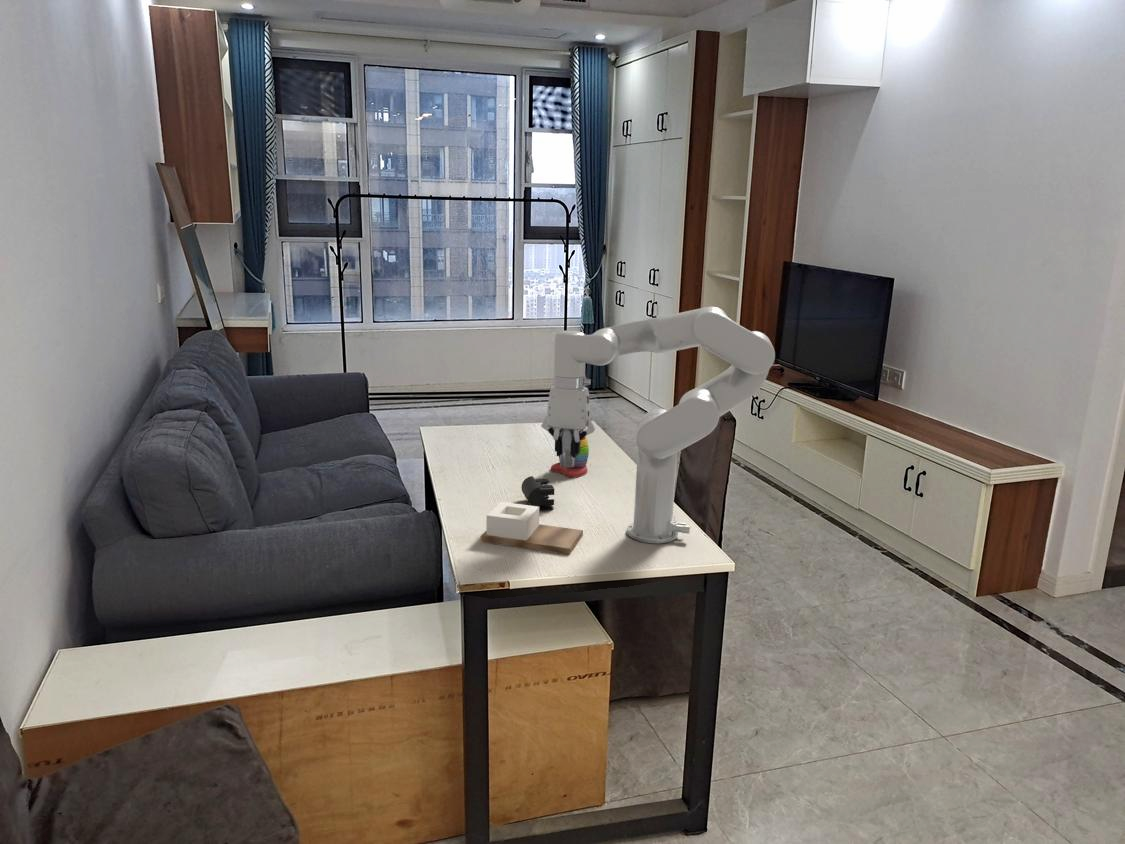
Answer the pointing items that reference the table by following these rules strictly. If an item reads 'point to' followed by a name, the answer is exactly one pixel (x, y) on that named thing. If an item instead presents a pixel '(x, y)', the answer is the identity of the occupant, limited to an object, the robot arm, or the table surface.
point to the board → (542, 539)
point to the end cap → (538, 493)
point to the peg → (567, 448)
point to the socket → (512, 521)
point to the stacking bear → (575, 462)
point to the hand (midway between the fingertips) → (567, 454)
